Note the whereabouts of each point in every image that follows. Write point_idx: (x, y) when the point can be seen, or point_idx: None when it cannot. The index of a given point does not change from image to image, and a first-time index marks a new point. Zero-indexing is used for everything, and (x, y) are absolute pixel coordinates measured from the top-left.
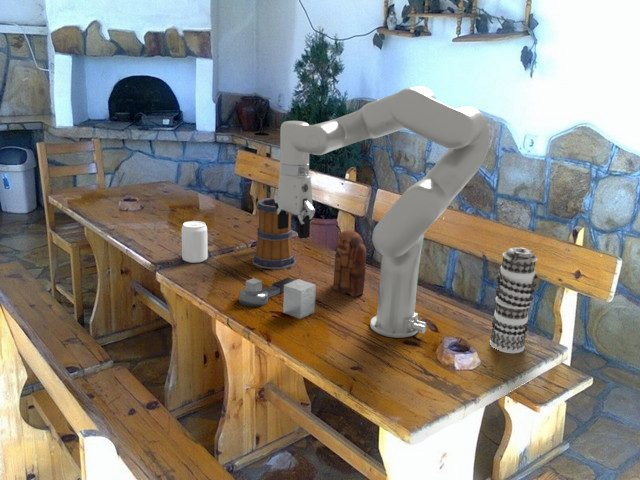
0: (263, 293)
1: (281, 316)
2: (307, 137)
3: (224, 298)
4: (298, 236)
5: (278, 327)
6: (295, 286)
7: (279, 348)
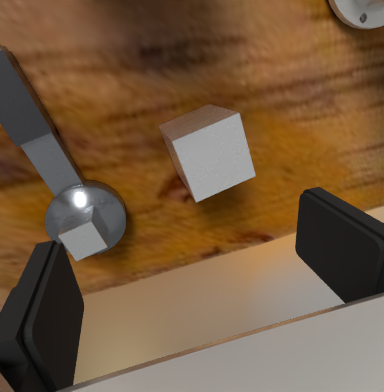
0: (97, 201)
1: None
2: None
3: None
4: (304, 258)
5: (234, 208)
6: (220, 177)
7: None
